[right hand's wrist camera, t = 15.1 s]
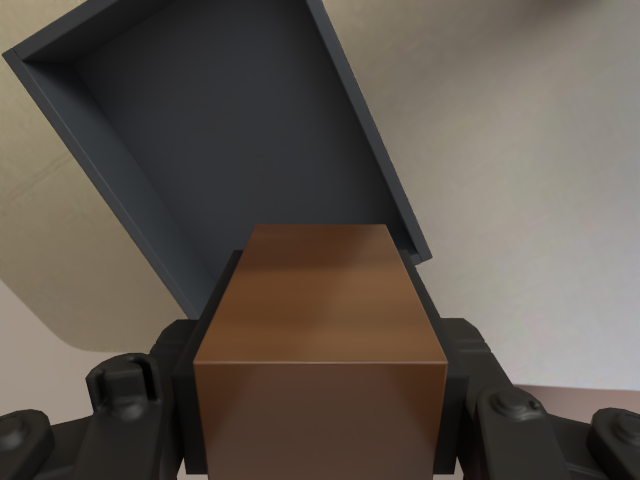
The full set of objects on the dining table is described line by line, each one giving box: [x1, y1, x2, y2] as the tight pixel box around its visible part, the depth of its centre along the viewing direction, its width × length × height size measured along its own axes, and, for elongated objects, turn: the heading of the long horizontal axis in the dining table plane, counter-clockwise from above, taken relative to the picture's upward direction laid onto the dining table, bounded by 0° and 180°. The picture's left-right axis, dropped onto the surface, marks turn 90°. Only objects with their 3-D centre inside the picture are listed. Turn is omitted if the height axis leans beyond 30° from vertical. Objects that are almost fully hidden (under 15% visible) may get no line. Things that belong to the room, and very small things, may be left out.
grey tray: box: [2, 0, 432, 319], centre depth 19 cm, size 24×13×7 cm, turn 26°
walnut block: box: [193, 224, 448, 480], centre depth 12 cm, size 4×4×8 cm
